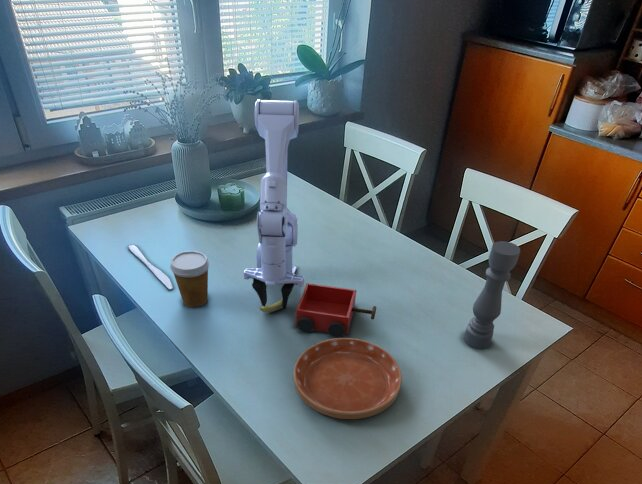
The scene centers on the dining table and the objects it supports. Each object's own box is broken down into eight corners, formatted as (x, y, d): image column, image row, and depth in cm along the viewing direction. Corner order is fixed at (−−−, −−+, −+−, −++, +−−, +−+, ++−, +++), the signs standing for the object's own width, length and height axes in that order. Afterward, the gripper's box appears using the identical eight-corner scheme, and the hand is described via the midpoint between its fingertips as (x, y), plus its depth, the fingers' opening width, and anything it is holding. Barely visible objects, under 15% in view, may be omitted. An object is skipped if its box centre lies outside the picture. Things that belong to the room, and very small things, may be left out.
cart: (295, 327, 126) (296, 310, 122) (306, 299, 134) (306, 282, 130) (347, 335, 124) (348, 318, 120) (354, 307, 132) (356, 289, 128)
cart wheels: (296, 331, 125) (296, 318, 122) (309, 297, 135) (309, 284, 132) (370, 342, 122) (371, 329, 119) (377, 307, 132) (379, 294, 129)
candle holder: (485, 352, 120) (517, 259, 103) (459, 342, 122) (486, 250, 105) (493, 337, 124) (525, 246, 107) (468, 328, 126) (495, 237, 109)
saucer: (320, 438, 100) (321, 426, 98) (278, 364, 116) (277, 352, 113) (420, 405, 107) (423, 393, 105) (367, 339, 123) (369, 327, 120)
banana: (286, 302, 133) (286, 290, 130) (290, 306, 132) (290, 293, 129) (259, 313, 129) (258, 300, 127) (262, 316, 128) (262, 304, 126)
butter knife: (136, 243, 152) (127, 245, 151) (177, 286, 137) (167, 290, 135) (137, 244, 153) (127, 247, 151) (177, 288, 137) (167, 291, 136)
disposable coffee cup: (220, 293, 135) (215, 253, 127) (203, 314, 129) (197, 273, 121) (187, 286, 138) (181, 246, 129) (169, 306, 131) (161, 266, 123)
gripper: (238, 263, 119) (242, 310, 128) (299, 271, 117) (299, 319, 126) (247, 247, 124) (250, 294, 133) (306, 255, 122) (305, 302, 131)
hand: (274, 305), depth 130 cm, fingers open, 5 cm apart
